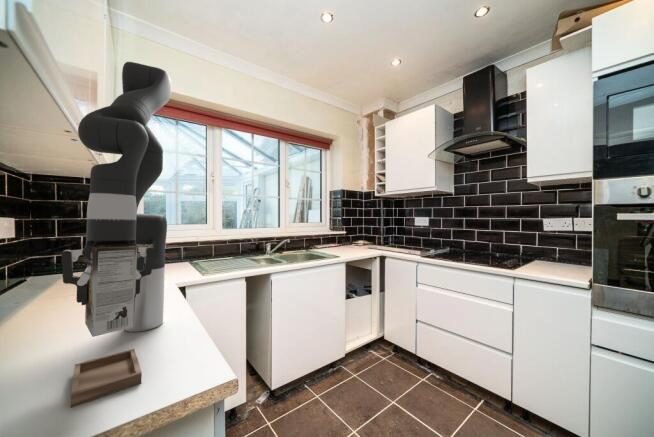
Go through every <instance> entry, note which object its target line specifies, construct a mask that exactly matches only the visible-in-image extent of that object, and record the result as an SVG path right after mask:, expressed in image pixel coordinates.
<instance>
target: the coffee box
mask: <svg viewBox="0 0 654 437" xmlns="http://www.w3.org/2000/svg"><path fill="white" fill-rule="evenodd" d="M137 256H138V252H137V247H136V246H132V245H128V246H121V245H105V246H92V247H91V258H90V261H89V260H87V259H86V268H87V267H88V268H89V266H90V265H91V273H90V278H89V280H88V281H87V282H86V283H87V305H85V312H84V313H85V314H84V315H85V318H84V320H85V321H84V323H85V325H86V328H87V329H88V332H89V333H90V335H91V337H94V338H95V337H99V336H102V335H106V334H109V333H114V332H119V331H123V330H125V329H127V328H131V327H134V309H135V288H136V265H137Z"/></svg>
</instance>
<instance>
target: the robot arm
mask: <svg viewBox="0 0 654 437" xmlns="http://www.w3.org/2000/svg"><path fill="white" fill-rule="evenodd" d="M121 71H122V72H121V80H122V82H121V84H122V94H119V95H118V96H117V97H116V98H115V99H114V100H113V102H112V103H111V104H110V105H108V106H105V107H104V106H103V107H101V108H98V109H96V110H93V111H91V112H89V113H87V114H86V115H84V117H83V118H82V119H81V121H80V122H79V124H78V128H77V135H78V138H79V139H80V141H81V143H82V144H83V145H84V146H85V147H86V148H87V149H88V150H90V151H93V152H96V153H101V154H113V155H121V156H120V158H119V159H117V160H116V161H113V162H109V163H108V162H107V163H106V162H105V163H98V164H95V165H93V166H92V167H91V169H90V174H89V177H90V178H89V179H90V182H89V196H88V202H87V208H86V209H87V211H86V236H85V246H84V247H83V248H82V249H73V250H72V249H65V250H63V251H62V253H61V266H62V267H61V268H62V270H61V271H62V282H63V284H65V285H68V284H70V285H74V286H76V302H77V303H79V304H80V303H81V306H86V305H87V283H86V282H87V281H88V280H89V278H90V273H91V265H90V266H89V268H88V267H87V266H86V268H85V270H84V271H83V272H82V274H81V275H80V276H76V275H74V264H73V263H74V262H77V261H78V259H79V257H80V256H83V257H84V258H86V261H87V260H89V261H90V258H91V247H92V246H105V245H121V246H128V245H132V246H136V247H137V253H140V254H139V255H137V265H136V288H135V309H134V327H131V328H127V329H124V330H125V331H126V332H131V333H134V332H135V333H136V332H138V333H139V332H143V331H144V332H146V331H149V330H152V329H155V328H157V327H160V326H161V325H162V324H163V323H164V307H165V306H164V302H165V300H164V299H165V272H166V271H165V270H166V269H165V268H166V259H165V258H166V244H167V243H166V242H167V231H168V222H167V221H168V220H167V218H166V216H165V215H163V214H157V213H155V214H154V213H138V209H139V205H140V202H141V200H142V199H143V197H144V196H145V194H146V193H147V191H149V189H150V188H151V187H152V186H153V185H154V183H156V181H157V180H158V179H159V177H160V176H161V174H162V172H163V167H164V165H163V163H164V149H163V146H162V144H161V142H160V141H159V139H158V137H157V135H156V134H155V132H154V131H153V130H152V129H151V127H150V126H149V124H148V123H149V122H150V120H151V118H152V116H153V115H154V114H155V113H156V112H158V111H159V110H161V109H162V108H163V107H164V106H165V105H166V104H168V103H169V102H170V99H171V97H172V92H173V90H172V80H171V77H170V75H169V73H168V72H167V71H166V70H164V69H161V68H159V67H155V66H151V65H146V64H143V63H142V64H141V63H140V62H139V63H138V62H133V61H126V62H125V63H124V64H123V66H122V70H121ZM147 245H148V246H147ZM151 245H152V246H151Z"/></svg>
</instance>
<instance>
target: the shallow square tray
mask: <svg viewBox="0 0 654 437" xmlns="http://www.w3.org/2000/svg"><path fill="white" fill-rule="evenodd" d="M140 384H142V369H141V366H140V363H139V359H138V356H137V352H136V349H135V348H132V349H128V350H123V351H120V352H119V351H118V352H116V353H112V354H108V355H106V356H102V357H98V358H97V357H96V358H94V359H90V360H86V361H82V362H79V363H75V364H74V370H73V378H72V384H71V385H72V387H71V393H70V408H75V407H76V406H77V407H78V406H80V405H82V404H85V403H88V402H91V401H94V400H98V399H99V398H103V397H106V396H108V395H111V394H115V393H117V392H120V391H123V390H126V389H128V388H132V387H135V386H137V385H140Z"/></svg>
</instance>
